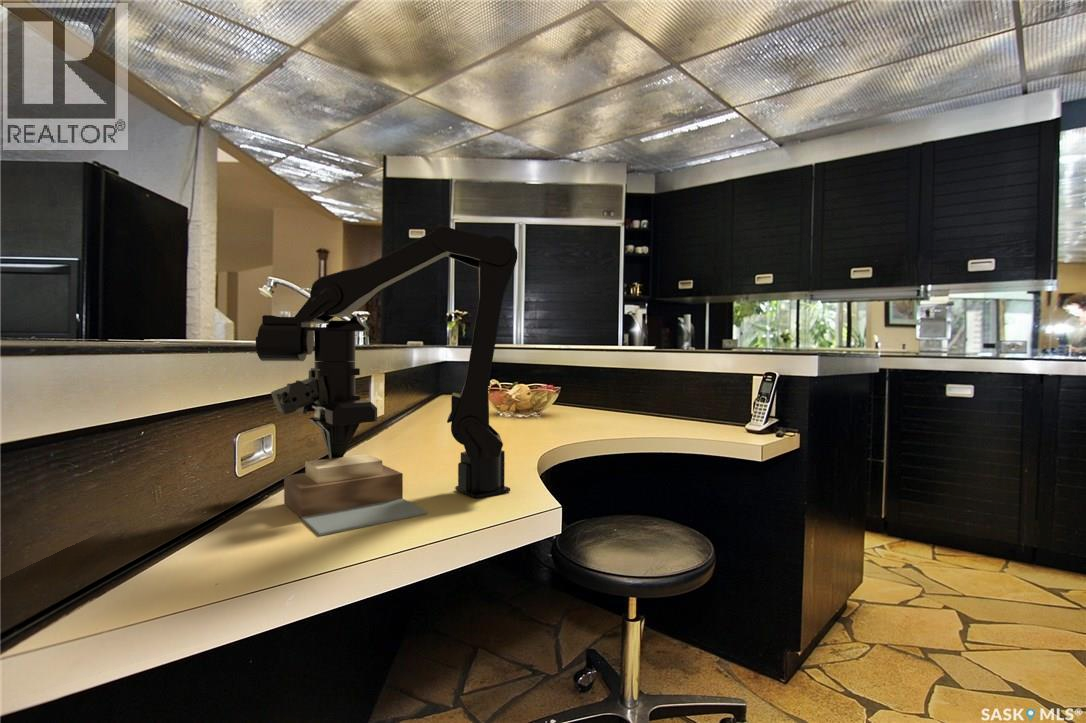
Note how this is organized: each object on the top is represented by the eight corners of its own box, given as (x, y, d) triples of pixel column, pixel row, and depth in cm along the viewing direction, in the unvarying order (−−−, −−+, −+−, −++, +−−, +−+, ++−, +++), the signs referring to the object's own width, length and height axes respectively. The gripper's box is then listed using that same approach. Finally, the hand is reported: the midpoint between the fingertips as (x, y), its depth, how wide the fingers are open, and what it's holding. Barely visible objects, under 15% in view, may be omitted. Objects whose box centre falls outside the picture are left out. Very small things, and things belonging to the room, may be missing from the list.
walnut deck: (378, 487, 85) (378, 463, 84) (402, 500, 78) (402, 473, 77) (284, 503, 76) (284, 475, 76) (301, 519, 69) (301, 488, 69)
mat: (402, 500, 78) (402, 498, 78) (427, 513, 71) (427, 511, 71) (301, 519, 69) (301, 516, 69) (319, 536, 62) (319, 533, 62)
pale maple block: (366, 466, 82) (366, 454, 82) (382, 473, 77) (382, 460, 77) (305, 475, 76) (305, 461, 76) (318, 483, 71) (318, 468, 71)
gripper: (262, 360, 82) (263, 461, 82) (293, 363, 67) (293, 485, 67) (336, 360, 88) (336, 452, 89) (378, 362, 74) (378, 473, 74)
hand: (335, 464), depth 80 cm, fingers closed
